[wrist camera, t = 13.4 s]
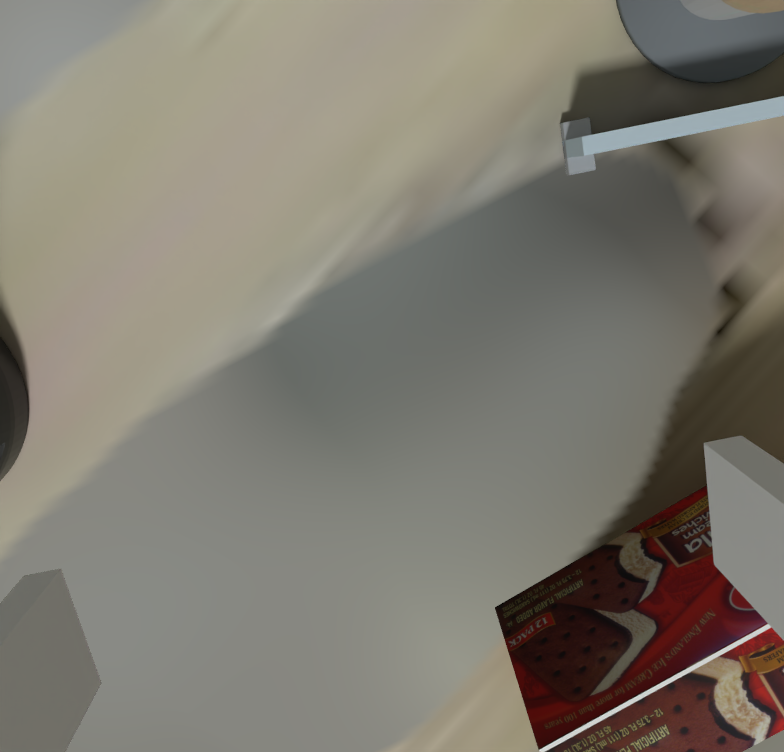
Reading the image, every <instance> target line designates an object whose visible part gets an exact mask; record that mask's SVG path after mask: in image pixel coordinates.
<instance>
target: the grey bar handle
mask: <svg viewBox="0 0 784 752" xmlns="http://www.w3.org/2000/svg"><path fill="white" fill-rule="evenodd" d="M779 116H784V96H782V97H777V98H772V99H767V100H762V101H757V102H752V103H747V104H742V105H737V106H732V107H727V108H722V109H717V110H712V111H707V112H702V113H697V114H692V115H687V116H683V117H678V118H673V119H668V120H663V121H658V122H653V123H648V124H643V125H638V126H633V127H628V128H623V129H618V130H613V131H608V132H603V133H598V134H593V135H592V133H591V124H590V117H588V118H583V119H579V120H574V121H569V122H564V123H560V127H561V135H562V143H563V151H564V159H565V167H566V175H572V174H577V173H582V172H587V171H592V170H595V169H596V168H595V159H594V154H595V153H600V152H605V151H610V150H615V149H620V148H625V147H630V146H635V145H640V144H645V143H650V142H655V141H660V140H665V139H670V138H675V137H680V136H685V135H690V134H694V133H699V132H704V131H709V130H714V129H719V128H724V127H729V126H734V125H739V124H744V123H749V122H754V121H759V120H764V119H769V118H774V117H779Z"/></svg>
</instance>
